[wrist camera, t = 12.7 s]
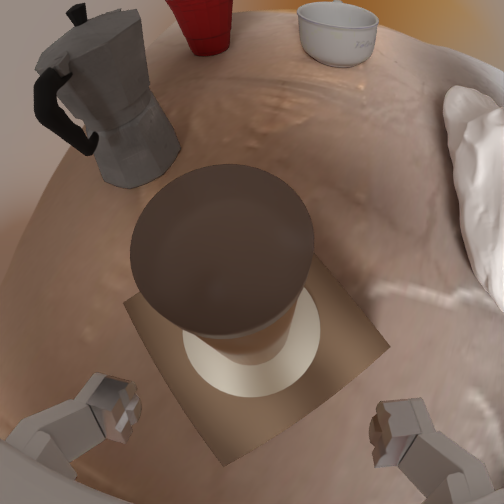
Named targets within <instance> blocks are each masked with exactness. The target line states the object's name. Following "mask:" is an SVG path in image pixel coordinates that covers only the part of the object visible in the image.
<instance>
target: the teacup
mask: <svg viewBox="0 0 504 504" xmlns="http://www.w3.org/2000/svg"><path fill="white" fill-rule="evenodd" d="M297 15H298V22H299V34H300V41H301V44H302V47H303V49H304V50H305V51H306V52H307V53H308V54H309V55H310V56H311V57H313V58H314V59H316V60H317V61H319V62H320V63H323V64H325V65H328V66H333V67H352V66H355V65H357V64H359V63H362V62H364V61H366V60H367V59H368V58H369V57H370V56H371V54H372V52H373V49H374V45H375V40H376V33H377V25H378V23H379V19H378V18H377V16H376V15H374V14H373V13H372V12H370V11H368V10H365V9H363V8H361V7H357V6H354V5H349V4H344V3H343V2H342V1H339V0H334V1H333V2H315V3H310V4H305V5H303V6H301V7H299V8H298V10H297Z"/></svg>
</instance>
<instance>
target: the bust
mask: <svg viewBox="0 0 504 504" xmlns="http://www.w3.org/2000/svg"><path fill="white" fill-rule="evenodd" d="M443 117H444V123H445V128H446V130H447V133H448V148H449V152H450V157H451V160H452V163H453V167H454V170H453V180H454V186H455V190H456V193H457V196H458V200H459V210H460V217H459V220H460V228H461V233H462V237H463V241H464V244H465V248H466V251H467V255H468V258H469V261H470V264H471V267H472V270H473V273H474V275H475V277H476V278H477V280H478V281H479V282H480V284H481V285H482V286H483V288H484V289H485V290H486V292H487V293H489V294H490V295H491V297H492V298H493V299H494V301H495V303H496V304H497V306H498V307H499V309H500V310H501V311H502V312H503V313H504V106H503V107H500V108H499V106H498V105H497V104H496V103H495V101H494V100H493V99H492V98H491V97H490V96H488V95H484V94H481V93H480V92H479V91H478V90H476V89H473V88H467V87H462V86H457V85H455V86H453V87H452V88H450V89H449V90H448V91H447V93H446V95H445V98H444V104H443Z"/></svg>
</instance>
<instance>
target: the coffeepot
mask: <svg viewBox="0 0 504 504" xmlns="http://www.w3.org/2000/svg"><path fill="white" fill-rule="evenodd" d="M66 15H67V16H68V17H69V19H70V20H71V22H72V23H73V24H74V26H75V27H73V28H72V29H71V30H69V31H68V32H67V33H65V34H64V35H63V36H62V37H61V38H59V39H58V40H57V41H55V42H54V43H53V44H52V45H51V46H50V47H48V48H47V49H46V50H45V51H44V52H43V53H42V54H41V56H40V58H39V61H38V62H37V65H36V67H35V71H37V73H38V74H39V75H40V77H39V78H38V79H37V81H36V82H35V84H34V112H35V116H36V118H37V119H38V121H39V122H40V123H41V124H42V125H43V126H45V127H46V128H48V129H50V130H51V131H52V132H54V133H55V134H57V135H58V136H59V137H61V138H62V139H64V140H65V141H66V142H68V143H69V144H70V145H72V146H73V147H74V148H76V149H77V150H78V151H80V152H81V153H83V154H84V155H85V156H90V155H92V154H94V156H95V159H96V162H97V164H98V167H99V169H100V172H101V175H102V177H103V180H104V181H105V182H107V183H110V184H113V185H115V186H117V187H122V188H128V189H130V188H134V187H138V186H141V185H144V184H147V183H149V182H151V181H153V180H155V179H156V178H157V177H159V176H160V175H163V174H164V173H165V172H166V171H167V169H168V168H169V167H170V166H171V165H172V163H173V162H174V160H175V158H176V157H177V154H178V152H179V151H180V149H181V147H180V144H179V142H178V139H177V136H176V134H175V131H174V128H173V127H172V125H171V123H170V122H169V120H168V118H167V117H166V115H165V113H164V112H163V110H162V108H161V107H160V105H159V103H158V102H157V100H156V98H155V97H154V95H153V93H152V92H151V91H150V89H149V85H150V81H149V75H148V68H147V62H146V55H145V47H144V40H143V32H142V24H141V18H140V16H139V13H138V11H137V9H134V10H127V11H121V9H117V10H114V11H111V12H107V13H105V14H102V15H99V16H97V17H95V18H92V19H88V20H87V13H86V6H85V3H82V4H76V5H74V6H72V7H71V8H70V9H69V10H68V11H67V12H66ZM57 97H58V98H59V99H60V100H61V102H62V103H63V104H64V105H65V106H66V108H67V109H68V110H69V111H70V112H71V113H72V114H73V116H74V117H75V118H77V119H81V120H83V121H84V124H85V125H86V132H87V137H88V138H87V137H86V135H85V133H84V131H83V129H82V128H81V127H80V126H78V125H76V124H74V123H73V122H72V121H71V120H70V119H69V117H68V116H67V115H66V114H65V112H64V110H63V109H62V108H60V107H59V106H58V103H57Z"/></svg>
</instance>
